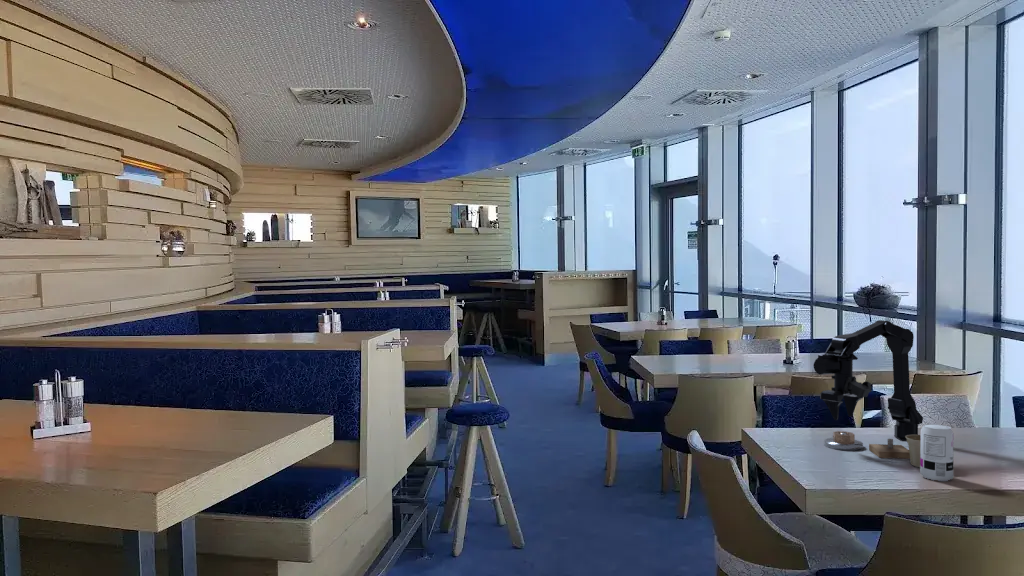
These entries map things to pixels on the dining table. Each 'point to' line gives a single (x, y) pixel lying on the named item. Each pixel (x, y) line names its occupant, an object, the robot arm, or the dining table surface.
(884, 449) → the stand
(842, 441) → the octagonal wooden ring
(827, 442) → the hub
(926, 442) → the supplement can
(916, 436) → the flower pot
